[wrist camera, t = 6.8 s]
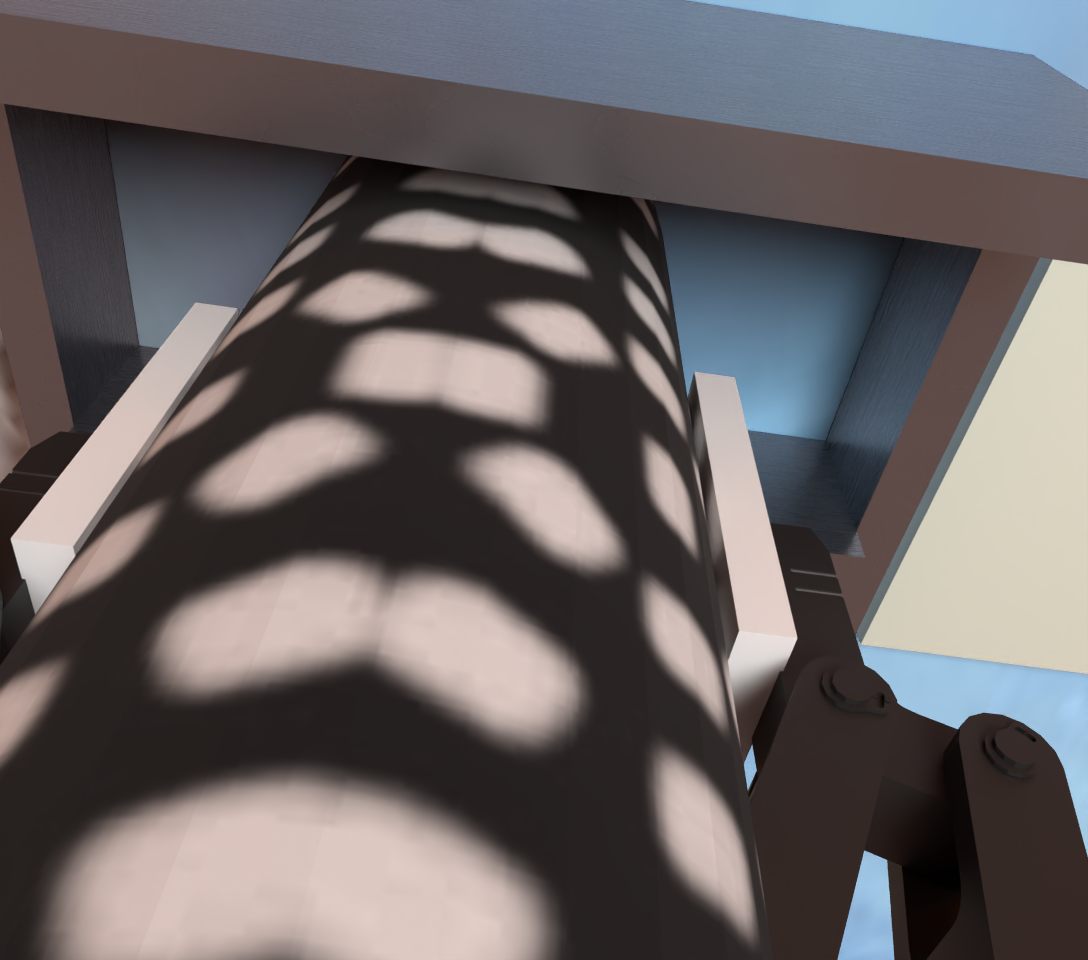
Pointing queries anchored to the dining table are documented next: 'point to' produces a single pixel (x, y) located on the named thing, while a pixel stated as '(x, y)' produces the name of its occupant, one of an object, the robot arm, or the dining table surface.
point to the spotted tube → (398, 620)
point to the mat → (1006, 503)
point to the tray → (573, 179)
